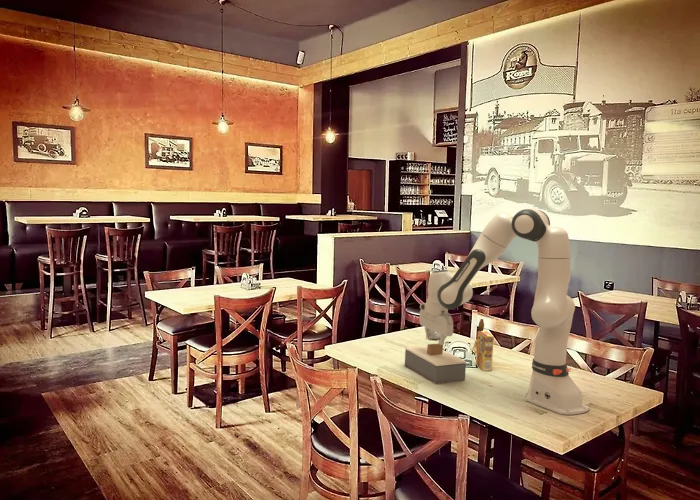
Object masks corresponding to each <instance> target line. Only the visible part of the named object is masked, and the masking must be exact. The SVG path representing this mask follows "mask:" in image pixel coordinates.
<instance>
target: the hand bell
mask: <svg viewBox="0 0 700 500" xmlns="http://www.w3.org/2000/svg"><path fill="white" fill-rule="evenodd" d="M484 328H485V322H484V319H483V318H480V320H479V322H478V331H484ZM471 349H472V350H473V351H474V352H475V353H474V354H477V339H475V341H474V345H473V347H472V348H471Z"/></svg>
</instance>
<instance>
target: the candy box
mask: <svg viewBox="0 0 700 500" xmlns="http://www.w3.org/2000/svg"><path fill="white" fill-rule="evenodd" d="M476 340H477V353H476V358H475V359H476V360H475V361H476V362H475V365H476V364H477V365H476V366H477V367H478V368H479V369H480V370H482V371H483V372H486V371H487V372H489V371H490V372H492V370H493V357H494V355H493V354H494V353H493V352H494V335H492V334H491V333H490V332H488V331H485V330H483V331H479V330H478V331H477V339H476Z"/></svg>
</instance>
